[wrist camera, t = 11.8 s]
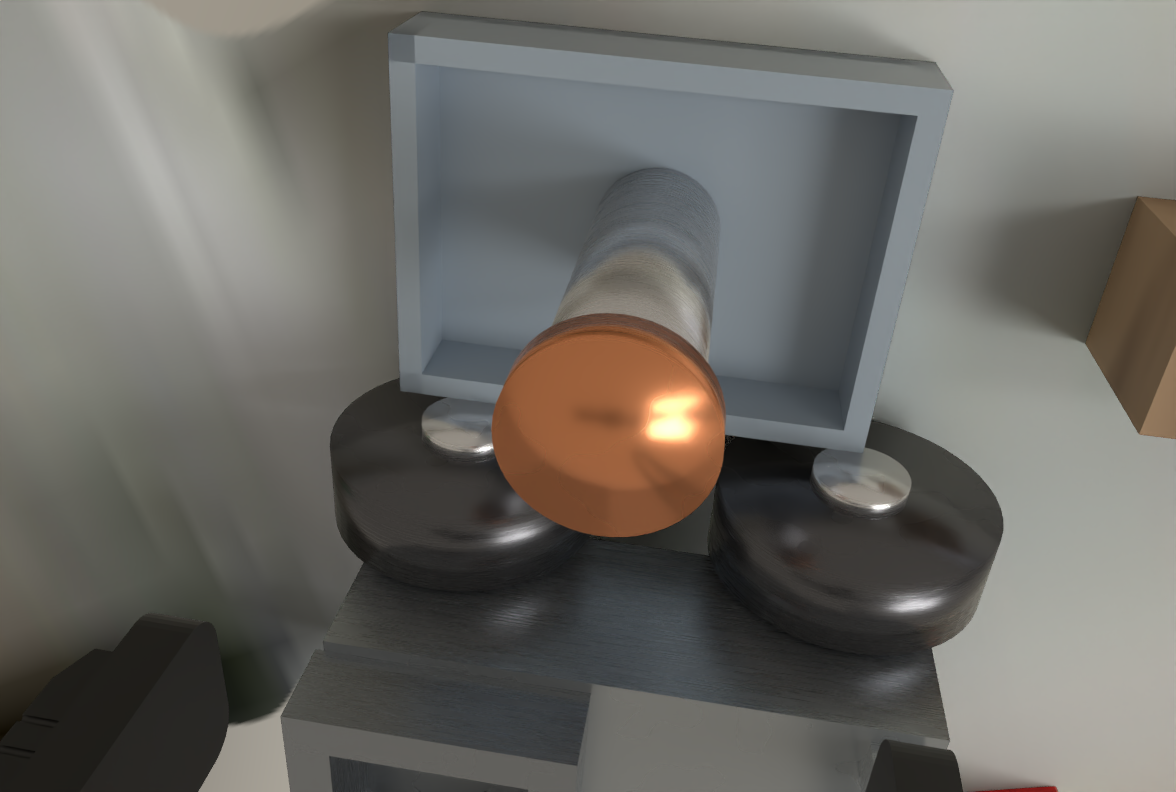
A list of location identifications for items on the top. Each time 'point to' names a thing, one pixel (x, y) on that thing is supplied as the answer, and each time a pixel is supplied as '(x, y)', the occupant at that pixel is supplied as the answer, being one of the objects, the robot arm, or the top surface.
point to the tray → (675, 141)
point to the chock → (1142, 320)
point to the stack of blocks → (1027, 790)
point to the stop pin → (623, 370)
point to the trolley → (632, 619)
